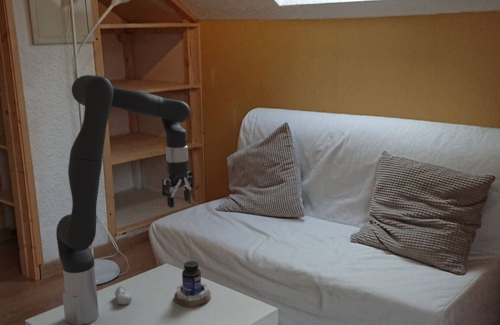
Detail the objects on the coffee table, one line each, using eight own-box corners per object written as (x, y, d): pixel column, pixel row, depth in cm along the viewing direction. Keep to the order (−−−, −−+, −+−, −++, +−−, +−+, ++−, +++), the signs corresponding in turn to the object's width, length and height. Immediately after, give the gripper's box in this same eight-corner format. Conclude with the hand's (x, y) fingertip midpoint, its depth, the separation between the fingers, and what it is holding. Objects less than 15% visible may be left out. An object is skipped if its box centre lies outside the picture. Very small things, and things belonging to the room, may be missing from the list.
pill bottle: (198, 299, 172) (197, 268, 170) (180, 297, 174) (179, 266, 171) (203, 290, 178) (202, 260, 176) (186, 289, 179) (185, 259, 177)
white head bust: (131, 308, 173) (116, 307, 170) (127, 297, 180) (113, 295, 178) (134, 296, 172) (119, 295, 170) (131, 285, 179) (116, 283, 177)
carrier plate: (195, 310, 168) (195, 300, 167) (167, 301, 175) (166, 291, 174) (217, 295, 178) (217, 286, 177) (190, 286, 184) (189, 277, 184)
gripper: (182, 153, 189) (184, 196, 192) (154, 161, 177) (157, 207, 181) (199, 156, 185) (200, 200, 188) (171, 164, 173) (173, 211, 177)
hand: (179, 203), depth 185 cm, fingers open, 8 cm apart
